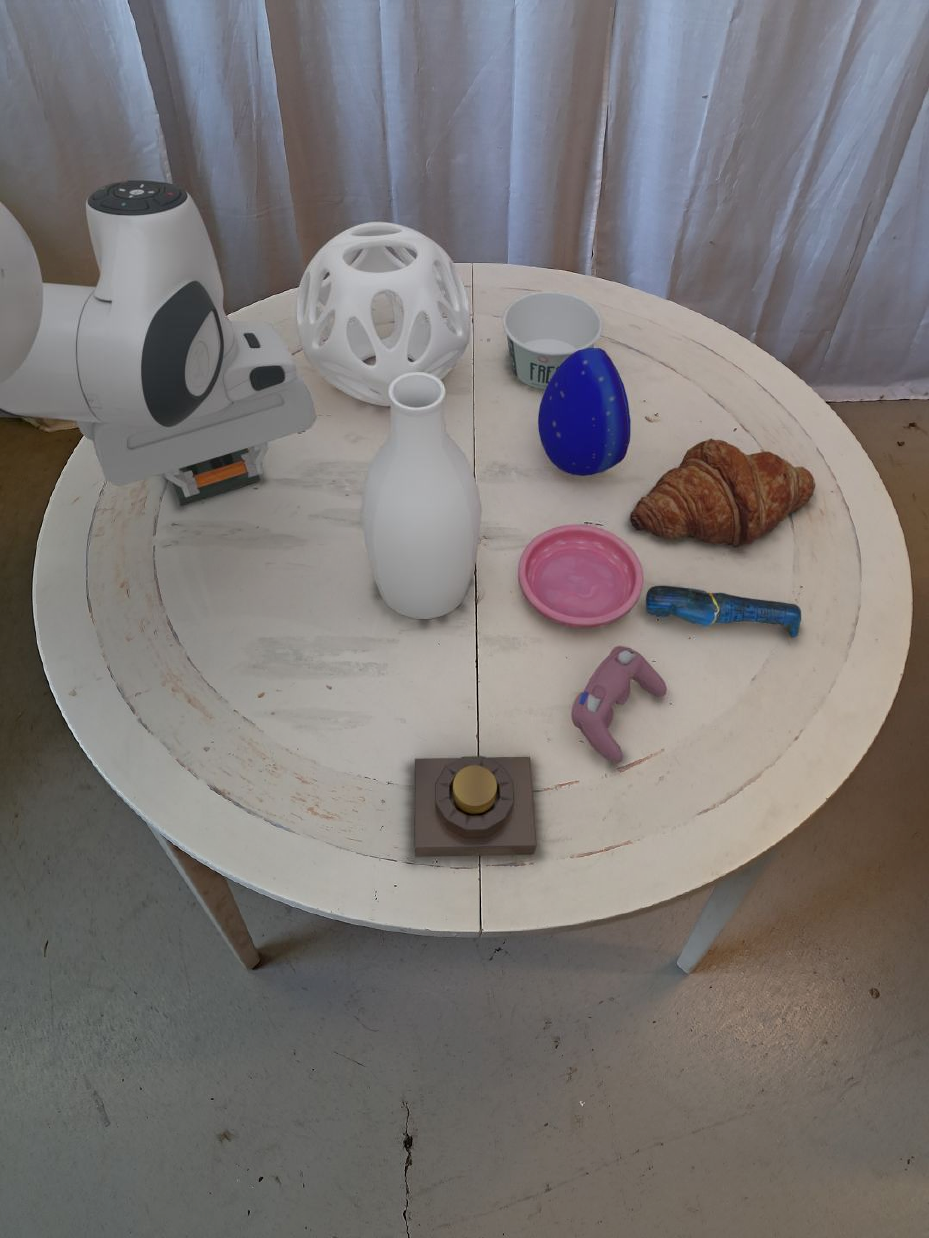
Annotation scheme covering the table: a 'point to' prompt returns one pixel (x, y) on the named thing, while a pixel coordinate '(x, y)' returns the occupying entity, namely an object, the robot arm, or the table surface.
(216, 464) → the switch lever
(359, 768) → the table surface
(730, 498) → the pastry
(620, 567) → the saucer
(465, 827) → the button block
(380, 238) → the decorative ball
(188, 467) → the switch bracket
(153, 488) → the table surface
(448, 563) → the bottle
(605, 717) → the video game controller
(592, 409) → the ornament
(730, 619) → the figurine
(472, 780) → the button
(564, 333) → the food container
